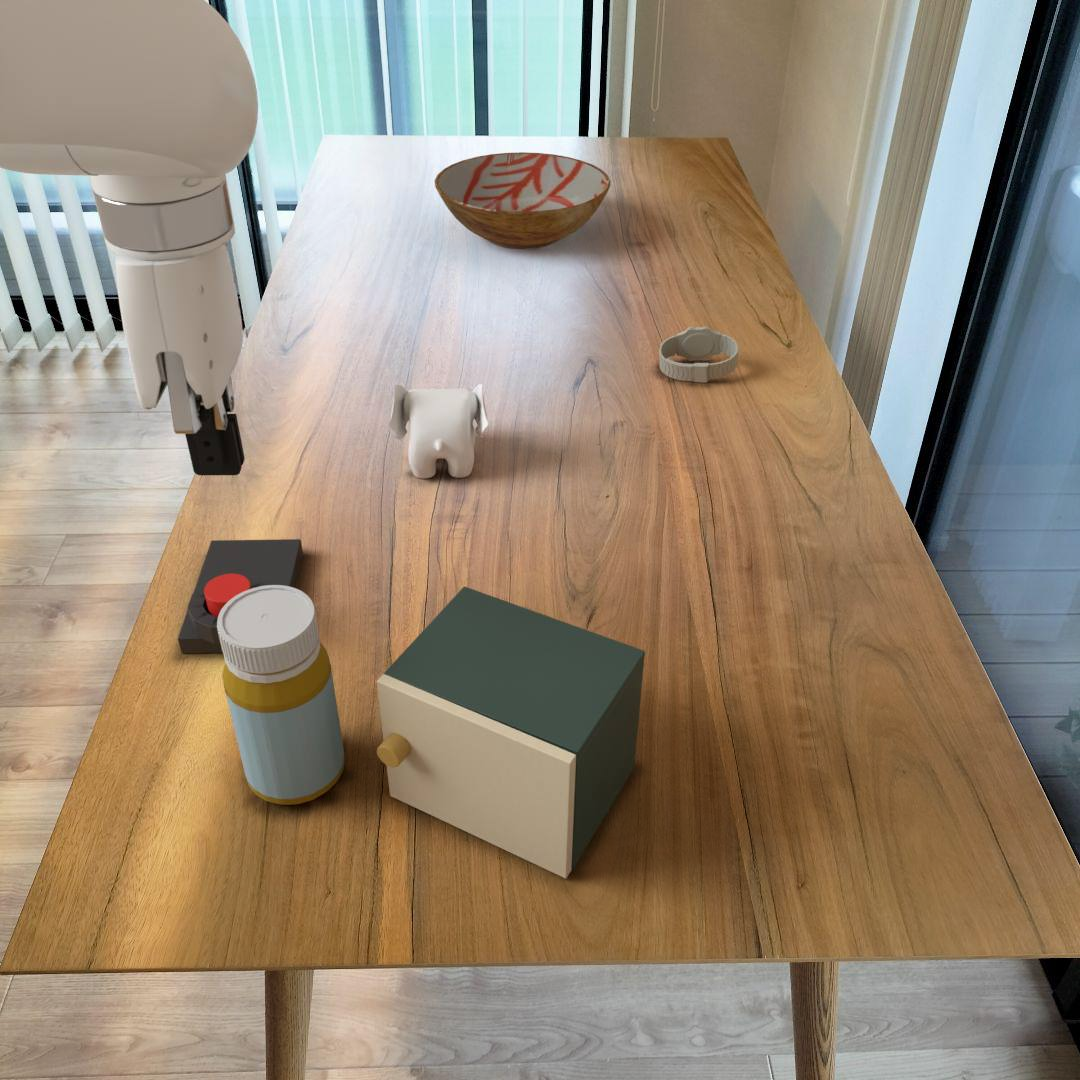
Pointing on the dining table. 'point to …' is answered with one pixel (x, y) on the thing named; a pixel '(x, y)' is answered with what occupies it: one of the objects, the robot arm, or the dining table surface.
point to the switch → (245, 558)
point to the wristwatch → (698, 354)
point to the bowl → (522, 196)
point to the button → (224, 591)
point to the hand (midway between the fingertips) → (220, 468)
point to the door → (478, 774)
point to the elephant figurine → (439, 427)
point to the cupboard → (538, 689)
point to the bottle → (280, 694)
